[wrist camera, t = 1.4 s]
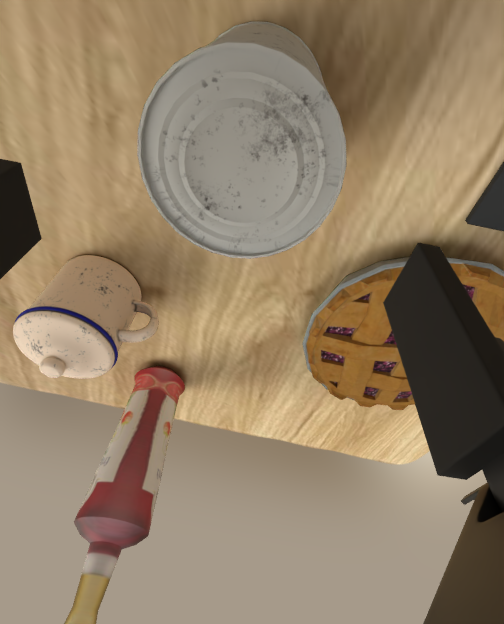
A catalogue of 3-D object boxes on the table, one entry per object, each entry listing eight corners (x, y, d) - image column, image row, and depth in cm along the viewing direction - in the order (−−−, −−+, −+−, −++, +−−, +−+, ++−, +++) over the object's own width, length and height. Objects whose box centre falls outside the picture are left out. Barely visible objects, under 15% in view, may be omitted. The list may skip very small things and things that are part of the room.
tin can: (321, 170, 28) (338, 256, 19) (204, 177, 29) (167, 261, 20) (328, 12, 21) (359, 27, 12) (178, 29, 22) (103, 54, 13)
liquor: (141, 352, 45) (18, 652, 25) (194, 369, 47) (120, 664, 26) (132, 381, 50) (23, 653, 29) (180, 396, 51) (109, 663, 31)
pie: (299, 381, 47) (300, 414, 43) (305, 239, 32) (307, 271, 28) (470, 385, 45) (486, 420, 41) (561, 235, 30) (600, 269, 26)
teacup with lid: (75, 313, 41) (20, 397, 33) (47, 248, 35) (-31, 331, 26) (175, 321, 41) (145, 408, 32) (164, 256, 34) (124, 343, 26)
